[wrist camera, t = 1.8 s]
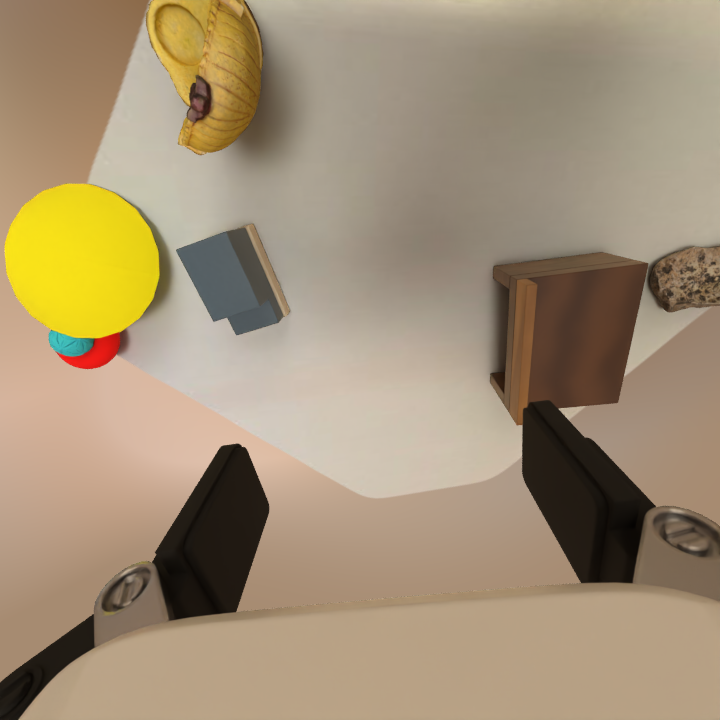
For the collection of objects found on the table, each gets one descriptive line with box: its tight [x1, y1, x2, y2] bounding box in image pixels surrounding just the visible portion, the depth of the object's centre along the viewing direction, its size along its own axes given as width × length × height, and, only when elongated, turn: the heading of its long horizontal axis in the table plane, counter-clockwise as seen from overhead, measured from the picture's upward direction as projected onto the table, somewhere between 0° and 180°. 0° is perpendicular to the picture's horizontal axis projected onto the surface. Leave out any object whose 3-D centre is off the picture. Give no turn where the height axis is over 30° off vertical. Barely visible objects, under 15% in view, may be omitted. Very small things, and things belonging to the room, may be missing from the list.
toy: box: [5, 184, 160, 369], centre depth 30 cm, size 14×18×12 cm
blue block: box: [176, 224, 290, 335], centre depth 31 cm, size 9×5×6 cm, turn 18°
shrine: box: [146, 0, 263, 155], centre depth 21 cm, size 12×8×15 cm
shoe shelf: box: [490, 252, 648, 425], centre depth 31 cm, size 10×13×8 cm
